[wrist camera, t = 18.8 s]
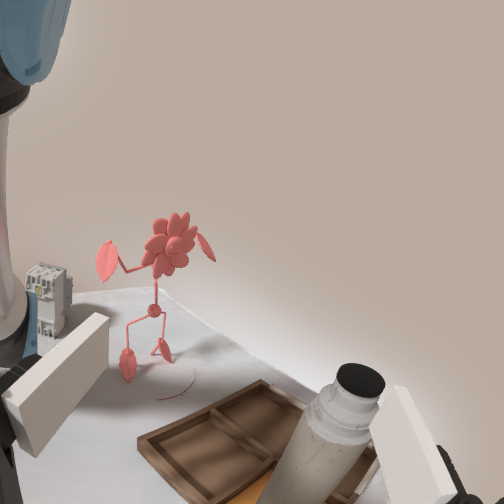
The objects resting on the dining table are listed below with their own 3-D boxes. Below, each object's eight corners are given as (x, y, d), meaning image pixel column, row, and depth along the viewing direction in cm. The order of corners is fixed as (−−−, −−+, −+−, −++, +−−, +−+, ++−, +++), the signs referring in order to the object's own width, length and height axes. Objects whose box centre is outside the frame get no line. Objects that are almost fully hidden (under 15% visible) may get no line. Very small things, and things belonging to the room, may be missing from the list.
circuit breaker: (74, 313, 74) (75, 260, 70) (54, 339, 60) (52, 280, 57) (50, 306, 72) (50, 254, 69) (28, 331, 59) (24, 273, 55)
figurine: (84, 372, 54) (94, 200, 46) (174, 343, 75) (202, 205, 67) (127, 422, 46) (146, 228, 38) (219, 377, 67) (260, 227, 59)
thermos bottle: (302, 495, 37) (384, 357, 31) (307, 535, 30) (413, 402, 23) (252, 493, 37) (317, 348, 30) (252, 534, 29) (335, 398, 22)
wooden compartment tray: (137, 449, 41) (137, 434, 40) (257, 390, 65) (261, 376, 64) (288, 577, 23) (299, 570, 22) (377, 463, 47) (388, 449, 46)
